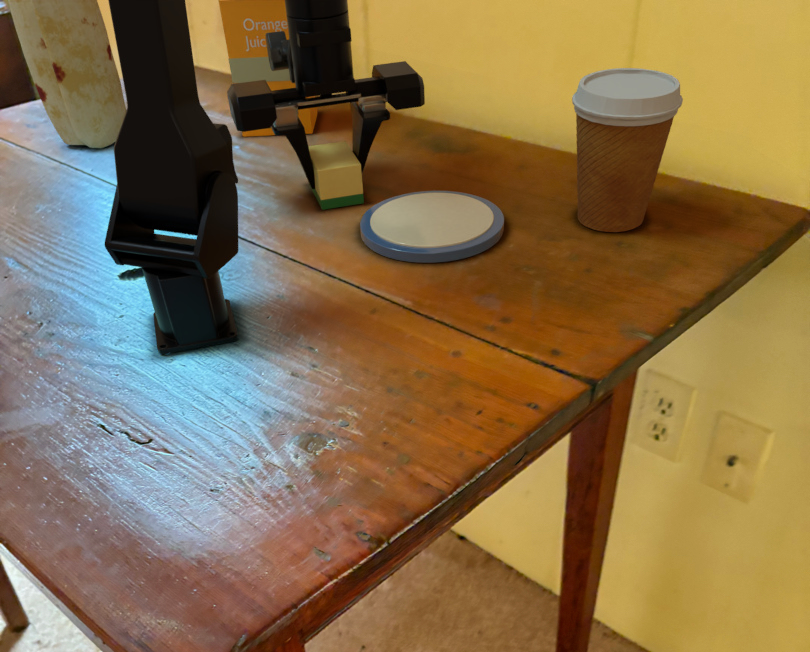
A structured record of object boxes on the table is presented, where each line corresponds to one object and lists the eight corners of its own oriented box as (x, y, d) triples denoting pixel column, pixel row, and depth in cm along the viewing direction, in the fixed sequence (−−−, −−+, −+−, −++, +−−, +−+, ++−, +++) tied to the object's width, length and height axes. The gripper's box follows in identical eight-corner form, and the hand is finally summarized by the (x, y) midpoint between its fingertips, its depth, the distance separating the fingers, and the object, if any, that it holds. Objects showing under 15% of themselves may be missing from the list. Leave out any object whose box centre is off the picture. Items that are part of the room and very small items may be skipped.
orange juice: (312, 133, 99) (288, -68, 85) (241, 137, 99) (206, -63, 85) (318, 112, 104) (296, -80, 90) (251, 115, 105) (218, -76, 90)
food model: (133, 128, 103) (81, -64, 89) (137, 145, 99) (83, -54, 85) (55, 139, 102) (-11, -55, 87) (55, 158, 97) (-14, -44, 83)
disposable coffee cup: (678, 214, 78) (706, 77, 70) (625, 249, 74) (648, 108, 65) (596, 190, 83) (612, 60, 75) (541, 222, 78) (551, 87, 70)
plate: (525, 248, 75) (526, 235, 74) (380, 273, 73) (379, 261, 72) (476, 191, 84) (476, 180, 84) (346, 212, 82) (345, 200, 81)
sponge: (364, 203, 84) (361, 163, 81) (322, 210, 83) (317, 170, 80) (349, 178, 88) (345, 140, 86) (309, 185, 88) (304, 146, 85)
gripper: (392, -17, 81) (400, 145, 92) (207, 4, 78) (238, 170, 89) (424, 7, 73) (428, 181, 84) (219, 32, 70) (251, 209, 81)
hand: (335, 184), depth 85 cm, fingers closed on sponge, 4 cm apart
